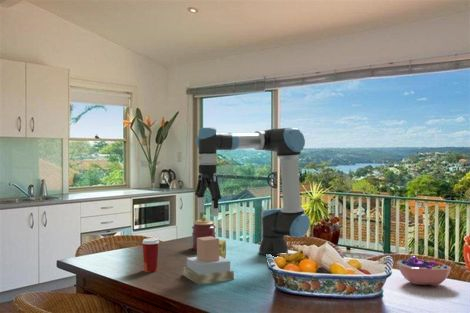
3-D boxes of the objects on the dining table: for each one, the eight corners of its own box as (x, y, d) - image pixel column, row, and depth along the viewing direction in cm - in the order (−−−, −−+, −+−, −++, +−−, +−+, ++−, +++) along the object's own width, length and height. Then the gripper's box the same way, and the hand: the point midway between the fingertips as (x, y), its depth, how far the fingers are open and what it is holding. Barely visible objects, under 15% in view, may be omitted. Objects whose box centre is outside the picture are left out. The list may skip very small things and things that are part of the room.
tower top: (216, 263, 203) (216, 254, 203) (230, 270, 191) (230, 261, 191) (186, 267, 197) (186, 257, 197) (199, 275, 184) (199, 265, 184)
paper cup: (162, 269, 206) (162, 238, 206) (152, 273, 199) (152, 241, 199) (148, 267, 209) (148, 237, 209) (138, 271, 202) (138, 240, 202)
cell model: (448, 294, 169) (448, 264, 169) (392, 286, 180) (392, 257, 179) (453, 283, 183) (453, 255, 183) (401, 276, 194) (401, 249, 194)
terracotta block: (211, 256, 198) (211, 236, 198) (219, 260, 192) (219, 238, 192) (197, 259, 195) (196, 237, 195) (204, 262, 189) (204, 240, 189)
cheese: (221, 265, 213) (221, 244, 213) (199, 264, 215) (199, 243, 215) (226, 260, 223) (226, 240, 223) (205, 259, 225) (205, 239, 225)
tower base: (216, 271, 204) (216, 262, 204) (233, 280, 190) (233, 271, 190) (183, 276, 197) (183, 267, 196) (198, 286, 182) (198, 276, 182)
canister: (215, 251, 243) (214, 218, 243) (190, 251, 243) (190, 218, 243) (216, 246, 256) (216, 214, 256) (193, 246, 256) (193, 214, 256)
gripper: (187, 163, 202) (188, 211, 202) (212, 165, 180) (212, 218, 180) (203, 163, 206) (203, 210, 206) (229, 164, 184) (229, 217, 184)
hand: (207, 214), depth 193 cm, fingers open, 13 cm apart
